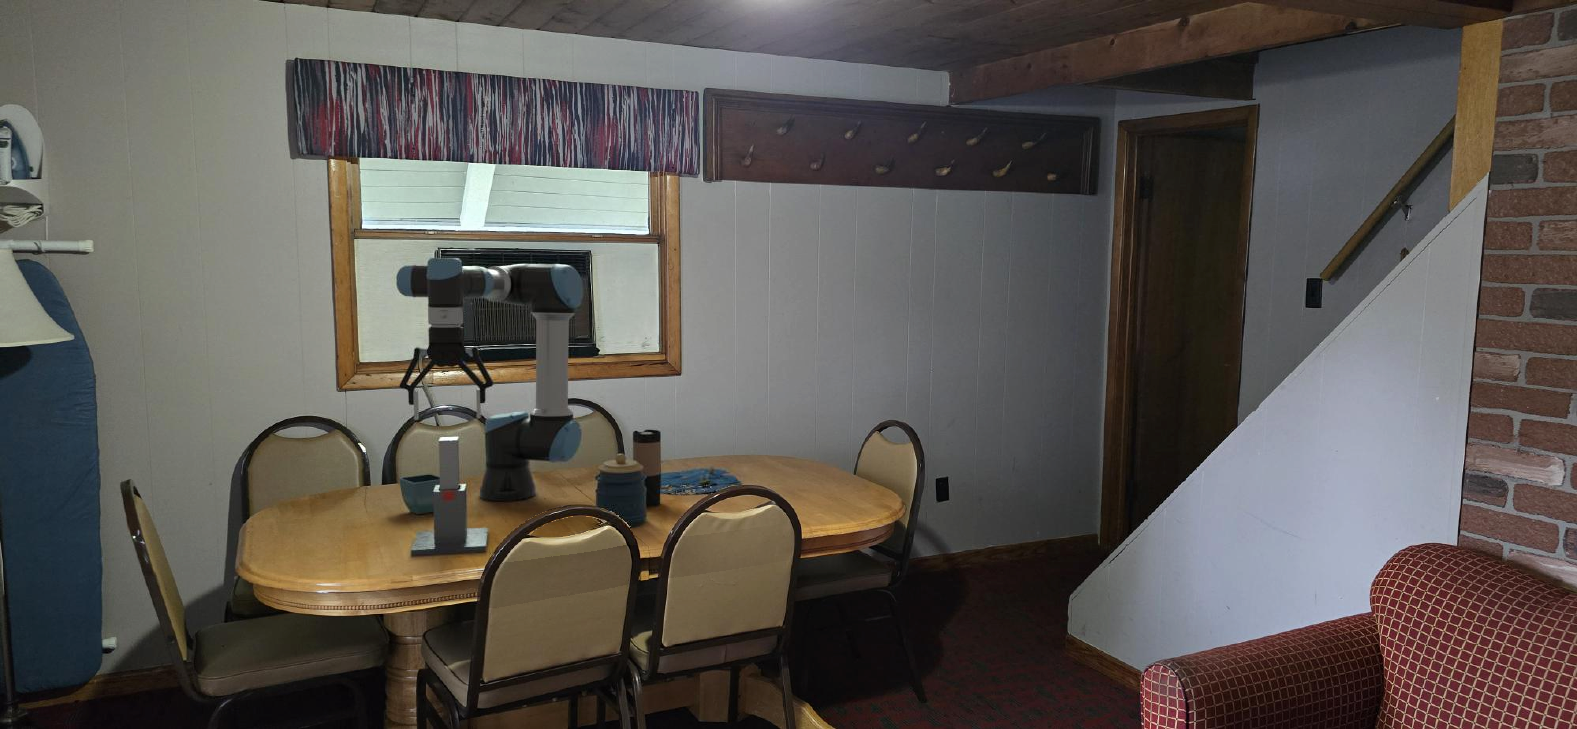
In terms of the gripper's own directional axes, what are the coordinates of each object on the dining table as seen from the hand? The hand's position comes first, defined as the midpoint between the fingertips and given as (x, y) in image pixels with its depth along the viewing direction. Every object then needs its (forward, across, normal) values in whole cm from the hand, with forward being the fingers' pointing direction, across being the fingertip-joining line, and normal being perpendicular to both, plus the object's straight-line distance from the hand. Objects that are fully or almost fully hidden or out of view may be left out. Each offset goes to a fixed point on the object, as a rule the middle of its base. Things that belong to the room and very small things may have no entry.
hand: (447, 418), depth 233 cm
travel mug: (+30, +49, +29) cm, 64 cm away
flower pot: (+30, -9, +34) cm, 46 cm away
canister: (+30, +40, +12) cm, 52 cm away
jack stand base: (+30, 0, 0) cm, 30 cm away
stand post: (+28, 0, 0) cm, 28 cm away
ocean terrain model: (+30, +65, +51) cm, 88 cm away
